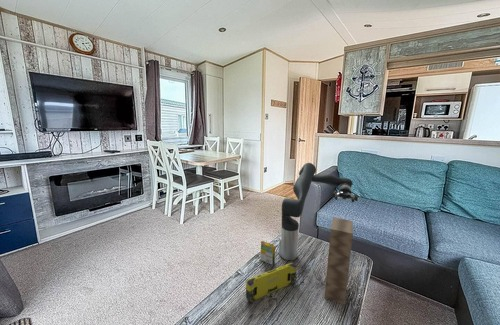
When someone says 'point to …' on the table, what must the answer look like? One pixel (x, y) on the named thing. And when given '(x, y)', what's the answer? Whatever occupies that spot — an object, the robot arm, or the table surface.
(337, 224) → the wooden block
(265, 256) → the crayon box
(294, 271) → the gaming console
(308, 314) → the table surface
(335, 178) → the robot arm
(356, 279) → the table surface
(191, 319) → the table surface
